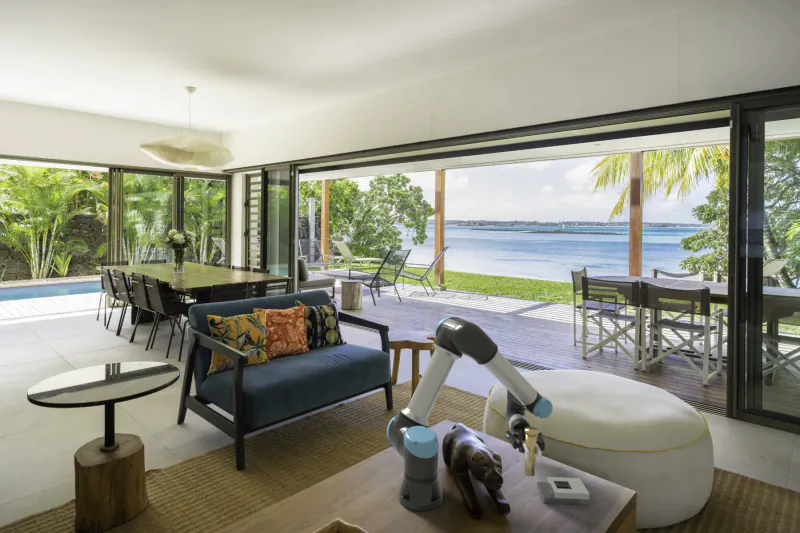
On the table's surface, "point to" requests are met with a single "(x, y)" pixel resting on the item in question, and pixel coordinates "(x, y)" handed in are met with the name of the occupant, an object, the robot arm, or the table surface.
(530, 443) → the brass pin
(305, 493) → the table surface
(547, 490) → the square hole block
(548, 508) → the table surface
